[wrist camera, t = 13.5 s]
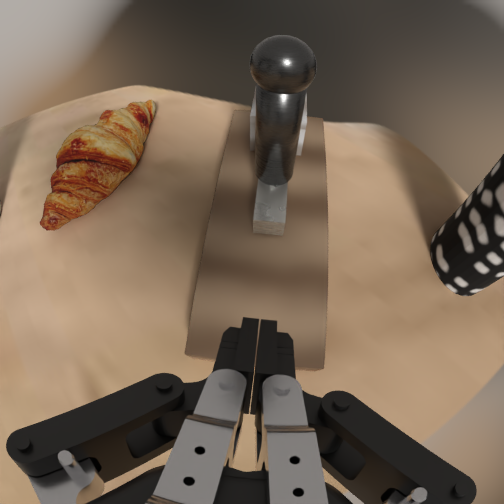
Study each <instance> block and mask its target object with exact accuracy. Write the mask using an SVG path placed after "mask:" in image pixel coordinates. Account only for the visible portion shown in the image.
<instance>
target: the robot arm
mask: <svg viewBox="0 0 504 504" xmlns="http://www.w3.org/2000/svg"><path fill="white" fill-rule="evenodd" d="M0 213H1V200H0ZM258 327H259V319H257V318H248V317H243V319H242V325H241V328H237V327H229V328H228V329H227V330H226V331H224V332H223V335H222V339H221V342H220V346H219V349H218V353H217V357H216V360H215V364H214V368H213V371H212V373H211V374H210V375H209V377H207V378H206V379H204V380H202V381H199V382H193V383H183V382H182V380H181V379H180V378H179V377H177V376H175V375H173V374H169V373H159V374H155V375H153V376H151V377H149V378H146V379H144V380H142V381H140V382H137V383H135V384H133V385H131V386H128V387H126V388H124V389H122V390H119V391H117V392H115V393H112V394H110V395H108V396H105V397H103V398H100V399H98V400H96V401H93V402H91V403H88V404H86V405H83V406H81V407H78V408H76V409H73V410H71V411H68V412H66V413H63V414H60V415H58V416H55V417H52V418H50V419H47V420H44V421H41V422H39V423H36V424H33V425H30V426H27V427H24V428H21V429H19V430H16V431H14V432H13V433H12V434H11V435H10V436H9V438H8V440H7V443H6V448H7V452H8V454H9V455H10V457H11V458H12V459H13V460H14V462H15V463H16V464H17V465H18V466H19V467H20V469H21V470H22V471H23V472H24V473H25V474H26V475H27V476H28V477H29V479H30V481H31V484H32V486H33V488H34V490H35V492H36V494H37V496H38V498H39V500H40V502H41V504H353V503H352V502H351V501H349V500H348V499H347V498H346V497H345V496H344V495H343V494H342V493H341V492H340V491H339V490H337V489H336V488H334V487H333V486H332V485H330V484H328V483H326V482H325V481H324V475H323V470H322V467H323V468H324V469H325V470H326V471H327V472H328V473H329V474H331V475H332V476H333V477H334V478H335V479H336V480H337V481H338V482H340V483H341V484H342V485H343V486H344V487H345V488H346V489H348V490H349V491H350V492H351V493H352V494H354V495H355V496H356V497H357V498H358V499H360V500H361V501H362V502H363V503H364V504H471V503H472V502H473V500H474V499H475V496H476V485H475V483H474V481H473V480H472V479H471V478H470V477H469V476H467V475H466V474H464V473H463V472H461V471H459V470H458V469H456V468H455V467H453V466H452V465H450V464H449V463H447V462H446V461H444V460H443V459H441V458H440V457H438V456H437V455H435V454H434V453H432V452H430V451H429V450H428V449H426V448H425V447H424V446H422V445H421V444H419V443H418V442H416V441H415V440H414V439H412V438H411V437H409V436H408V435H406V434H405V433H404V432H402V431H401V430H399V429H398V428H397V427H395V426H394V425H392V424H391V423H390V422H388V421H387V420H386V419H384V418H383V417H381V416H380V415H379V414H377V413H376V412H375V411H373V410H372V409H371V408H369V407H368V406H367V405H365V404H364V403H363V402H361V401H360V400H359V399H357V398H356V397H355V396H353V395H352V394H350V393H348V392H344V391H332V392H329V393H327V394H326V395H325V396H324V397H323V398H321V397H317V396H314V395H310V394H308V393H306V392H304V391H303V390H302V388H301V385H300V383H299V382H298V381H297V380H296V375H295V359H294V344H293V339H292V338H291V336H290V335H289V334H288V333H284V332H277V321H276V320H266V319H261V321H260V330H259V338H258V346H257V337H258ZM256 347H257V355H256ZM255 356H256V364H255ZM254 366H255V374H254ZM253 375H254V384H253V393H252V402H251V412H250V414H253V415H255V427H256V429H255V457H256V469H255V471H252V472H243V471H240V470H237V469H234V468H232V467H233V463H234V459H235V455H236V450H237V446H238V442H239V438H240V434H241V429H242V421H243V413H245V414H249V406H250V399H251V391H252V383H253ZM171 448H173V449H172V451H171V454H170V456H169V458H168V461H167V463H166V465H162V466H159V467H156V468H153V469H151V470H148V471H146V472H145V473H143V474H141V475H139V476H138V477H136V478H134V479H132V480H131V481H129V482H127V483H125V484H123V485H121V486H120V487H118V488H116V489H114V490H112V491H110V492H108V493H106V494H104V495H102V493H103V491H104V483H105V482H108V481H110V480H112V479H114V478H116V477H118V476H120V475H122V474H124V473H126V472H128V471H130V470H132V469H134V468H136V467H138V466H140V465H142V464H144V463H146V462H148V461H149V460H151V459H153V458H155V457H157V456H159V455H160V454H162V453H164V452H166V451H168V450H169V449H171ZM101 495H102V496H101Z"/></svg>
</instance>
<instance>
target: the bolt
mask: <svg viewBox="0 0 504 504" xmlns="http://www.w3.org/2000/svg"><path fill="white" fill-rule="evenodd" d="M316 68H317V64H316V59H315V56H314V53H313V52H312V50H311V49H310V48H309V46H308V45H307V44H305V43H304V42H303V41H301V40H300V39H297V38H295V37H292V36H288V35H278V36H272V37H269V38H267V39H265V40H263V41H262V42H261V43H259V44H258V45H257V46H256V48H255V49H254V51H253V53H252V55H251V59H250V71H251V74H252V76H253V78H254V80H255V82H256V126H255V174H256V176H257V178H258V186H257V194H256V201H255V209H254V217H253V233H260V234H270V235H280V236H283V232H284V227H285V220H286V204H287V187H288V181H289V180H290V179H291V178H292V176H293V171H294V165H295V159H296V153H297V147H298V141H299V135H300V129H301V123H302V117H303V110H304V104H305V98H306V91H307V87H308V86H309V85H310V84H311V83H312V81H313V79H314V77H315V74H316Z"/></svg>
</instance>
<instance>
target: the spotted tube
mask: <svg viewBox="0 0 504 504" xmlns="http://www.w3.org/2000/svg"><path fill="white" fill-rule="evenodd" d="M431 258H432V262H433V266H434V268H435V271H436V273H437V274H438V276H439V278H440V279H441V281H442V282H443V283H444V284H445V286H447V287H448V288H449V289H450V290H451V291H453V292H454V293H456V294H459V295H462V296H471V295H473V294H475V293H477V292H479V291H481V290H482V289H484V288H486V287H487V286H489V285H491V284H492V283H494V282H495V281H497V280H499V279H500V278H502V277H503V276H504V154H503V156H502V157H501V158H500V159H499V161H498V162H497V163H496V165H495V166H494V167H493V168H492V170H491V171H490V172H489V173H488V174H487V176H486V177H485V178H484V179H483V181H482V182H481V183H480V184H479V185H478V187H477V188H476V189H475V190H474V191H473V192H472V194H471V195H470V196H469V197H468V198H467V199H466V200H465V202H464V203H463V204H462V205H461V206H460V207H459V208H458V209H457V210H456V212H455V213H454V214H453V215H452V216H451V217H450V218H449V219H448V220H447V221H446V222H445V223H444V225H443V226H442V227H441V228H440V229H439V230H438V231H437V232H436V233H435V235H434V236H433V238H432V242H431Z"/></svg>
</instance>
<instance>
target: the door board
mask: <svg viewBox="0 0 504 504" xmlns="http://www.w3.org/2000/svg"><path fill="white" fill-rule="evenodd" d="M255 126H256V88H255V93H254V99H253V104H252V109H251V111H244V110H235V111H234V115H233V119H232V123H231V127H230V131H229V135H228V139H227V143H226V147H225V151H224V155H223V160H222V164H221V168H220V173H219V177H218V181H217V186H216V190H215V195H214V199H213V204H212V209H211V213H210V218H209V223H208V228H207V232H206V237H205V242H204V247H203V252H202V258H201V263H200V268H199V273H198V279H197V284H196V290H195V295H194V301H193V306H192V312H191V318H190V324H189V330H188V336H187V343H186V349H185V354H186V355H188V356H189V357H191V358H195V359H201V360H208V361H215V360H216V357H217V353H218V349H219V346H220V342H221V339H222V335H223V332H224V331H226V330H227V329H228V328H229V327H237V328H241V325H242V319H243V317H248V318H257V319H259V327H258V337H257V346H258V338H259V330H260V321H261V319H266V320H276V321H277V332H284V333H288V334H289V335H290V336H291V338H292V339H293V344H294V359H295V370H306V371H317V370H321V369H324V360H325V345H326V326H327V299H328V200H327V174H326V155H325V139H324V126H323V119H322V118H315V117H308V116H307V101H306V98H305V104H304V110H303V117H302V123H301V129H300V135H299V141H298V147H297V153H296V159H295V165H294V171H293V176H292V178H291V179H290V180H289V181H288V187H287V204H286V220H285V227H284V232H283V236H280V235H270V234H260V233H253V217H254V209H255V201H256V194H257V186H258V178H257V176H256V174H255ZM256 355H257V347H256ZM255 364H256V356H255Z"/></svg>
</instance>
